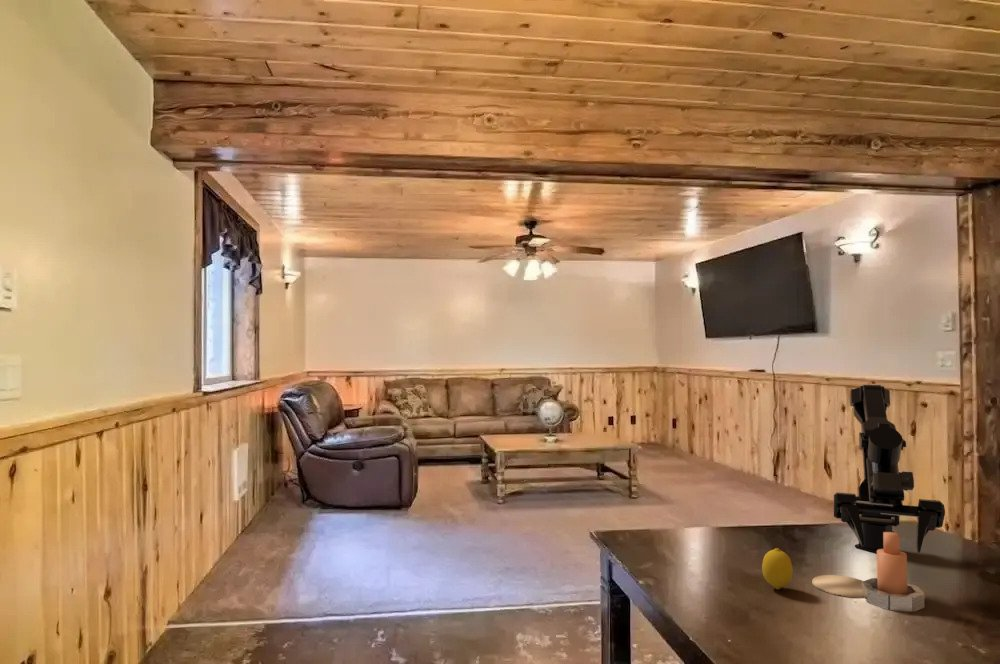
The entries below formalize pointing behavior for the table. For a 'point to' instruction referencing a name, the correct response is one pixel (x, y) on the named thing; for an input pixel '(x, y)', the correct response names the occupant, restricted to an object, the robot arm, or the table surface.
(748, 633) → the table surface
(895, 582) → the pin
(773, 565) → the lemon
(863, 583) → the ring
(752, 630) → the table surface
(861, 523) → the robot arm
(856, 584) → the coaster
